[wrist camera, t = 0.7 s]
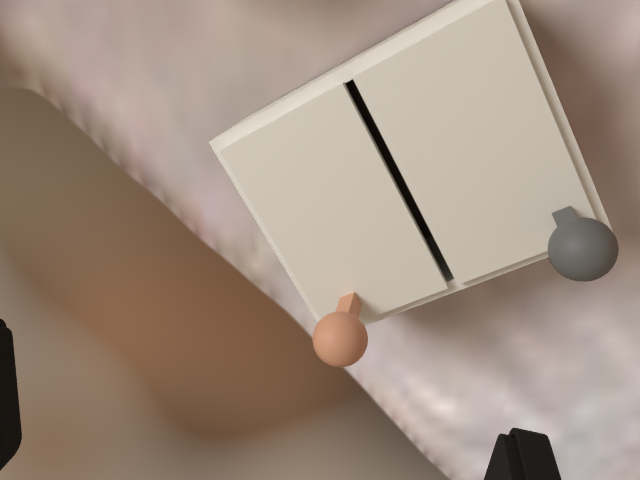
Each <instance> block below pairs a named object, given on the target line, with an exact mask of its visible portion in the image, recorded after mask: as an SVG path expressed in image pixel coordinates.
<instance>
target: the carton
mask: <svg viewBox="0 0 640 480" xmlns="http://www.w3.org/2000/svg"><path fill="white" fill-rule="evenodd" d="M490 1H492V0H454V1H452V2H450V3H448V4H447V5H445V6H443V7H441V8H439V9H438V10H436V11H434V12H432V13H431V14H429V15H427V16H425V17H423V18H422V19H420V20H418V21H416V22H415V23H413V24H411V25H409V26H407V27H406V28H404V29H402V30H400V31H399V32H397V33H395V34H393V35H391V36H390V37H388V38H386V39H384V40H383V41H381V42H379V43H377V44H375V45H374V46H372V47H370V48H368V49H367V50H365V51H363V52H361V53H360V54H358V55H356V56H354V57H352V58H351V59H349V60H347V61H345V62H344V63H342V64H340V65H338V66H336V67H335V68H333V69H331V70H329V71H328V72H326V73H324V74H322V75H320V76H319V77H317V78H315V79H313V80H312V81H310V82H308V83H306V84H304V85H303V86H301V87H299V88H297V89H296V90H294V91H292V92H290V93H288V94H287V95H285V96H283V97H281V98H280V99H278V100H276V101H274V102H273V103H271V104H269V105H267V106H265V107H264V108H262V109H260V110H258V111H257V112H255V113H253V114H252V115H250V116H248V117H247V118H245V119H244V120H242V121H241V122H239V123H238V124H236V125H234V126H233V127H231V128H230V129H228V130H227V131H225V132H224V133H222V134H221V135H219V136H217V137H216V138H214V139H213V140H211V141H210V142H209V143H210V145H211V147H212V148H213V150H214V152H215V153H216V155H217V157H218V158H219V160H220V162H221V163H222V165H223V167H224V168H225V170H226V172H227V173H228V175H229V177H230V178H231V180H232V182H233V183H234V185H235V187H236V188H237V190H238V192H239V193H240V195H241V197H242V198H243V200H244V202H245V203H246V205H247V206H248V208H249V210H250V211H251V213H252V215H253V216H254V218H255V220H256V221H257V223H258V225H259V226H260V228H261V230H262V231H263V233H264V235H265V236H266V238H267V240H268V241H269V243H270V245H271V246H272V248H273V250H274V251H275V253H276V255H277V256H278V258H279V260H280V261H281V263H282V265H283V266H284V268H285V270H286V271H287V273H288V275H289V276H290V278H291V280H292V281H293V283H294V285H295V286H296V288H297V290H298V291H299V293H300V295H301V296H302V298H303V300H304V301H305V303H306V305H307V306H308V308H309V309H310V311H311V313H312V314H313V316H314V318H315V319H316V321H317V323H318V322H319V321H320V318H319V316H318V315H317V313H316V311H315V310H314V308H313V306H312V305H311V303H310V301H309V300H308V298H307V296H306V295H305V293H304V291H303V290H302V288H301V286H300V285H299V283H298V281H297V280H296V278H295V276H294V275H293V273H292V271H291V270H290V268H289V266H288V265H287V263H286V261H285V260H284V258H283V256H282V255H281V253H280V251H279V250H278V248H277V246H276V245H275V243H274V241H273V240H272V238H271V236H270V235H269V233H268V231H267V230H266V228H265V226H264V225H263V223H262V221H261V220H260V218H259V216H258V215H257V213H256V211H255V210H254V208H253V206H252V205H251V203H250V201H249V200H248V198H247V196H246V195H245V193H244V191H243V190H242V188H241V186H240V185H239V183H238V181H237V180H236V178H235V176H234V175H233V173H232V171H231V170H230V168H229V166H228V165H227V163H226V161H225V160H224V158H223V156H222V155H221V153H220V150H221V149H223V148H224V147H226V146H228V145H230V144H232V143H234V142H235V141H237V140H239V139H241V138H243V137H244V136H246V135H248V134H250V133H252V132H254V131H255V130H257V129H259V128H261V127H263V126H264V125H266V124H268V123H270V122H272V121H274V120H275V119H277V118H279V117H281V116H283V115H284V114H286V113H288V112H290V111H292V110H294V109H295V108H297V107H299V106H301V105H303V104H305V103H306V102H308V101H310V100H312V99H314V98H315V97H317V96H319V95H321V94H323V93H325V92H326V91H328V90H330V89H332V88H334V87H335V86H337V85H339V84H341V83H343V82H344V83H345V85H346V87H347V89H348V91H349V92H350V94H351V96H352V98H353V100H354V102H355V104H356V106H357V108H358V110H359V112H360V114H361V116H362V118H363V120H364V122H365V124H366V125H367V127H368V129H369V131H370V133H371V135H372V137H373V139H374V141H375V143H376V145H377V147H378V149H379V151H380V153H381V155H382V157H383V159H384V160H385V162H386V164H387V166H388V168H389V170H390V172H391V174H392V176H393V178H394V180H395V182H396V184H397V186H398V188H399V190H400V192H401V194H402V195H403V197H404V199H405V201H406V203H407V205H408V207H409V209H410V211H411V213H412V215H413V217H414V219H415V221H416V223H417V225H418V227H419V228H420V230H421V232H422V234H423V236H424V238H425V240H426V242H427V244H428V246H429V248H430V250H431V252H432V254H433V256H434V258H435V260H436V262H437V263H438V265H439V267H440V269H441V271H442V273H443V275H444V277H445V279H446V281H447V283H448V289H445V290H443V291H440V292H438V293H435V294H432V295H430V296H427V297H424V298H422V299H419V300H416V301H414V302H411V303H408V304H406V305H403V306H400V307H398V308H395V309H393V310H390V311H387V312H385V313H382V314H379V315H377V316H374V317H371V318H369V319H366V320H363V321H361V322H362V323H363V324H364V326H366V325H368V324H371V323H374V322H376V321H379V320H382V319H384V318H387V317H390V316H392V315H395V314H398V313H401V312H403V311H406V310H409V309H411V308H414V307H417V306H419V305H422V304H425V303H427V302H430V301H433V300H435V299H438V298H441V297H443V296H446V295H449V294H451V293H454V292H457V291H459V290H462V289H465V288H467V287H470V286H473V285H475V284H478V283H481V282H483V281H486V280H489V279H492V278H494V277H497V276H500V275H502V274H505V273H508V272H510V271H513V270H516V269H518V268H521V267H524V266H526V265H529V264H532V263H534V262H537V261H540V260H542V259H545V258H548V257H549V256H548V251H546V252H543V253H541V254H538V255H535V256H533V257H530V258H528V259H525V260H522V261H520V262H517V263H514V264H512V265H509V266H506V267H504V268H501V269H498V270H496V271H493V272H490V273H488V274H485V275H483V276H480V277H477V278H475V279H472V280H469V281H467V282H464V283H461V284H459V285H458V284H457V282H456V280H455V278H454V277H453V275H452V273H451V271H450V269H449V267H448V265H447V263H446V261H445V259H444V257H443V255H442V253H441V251H440V249H439V247H438V245H437V243H436V241H435V239H434V237H433V235H432V233H431V231H430V229H429V227H428V225H427V224H426V222H425V220H424V218H423V216H422V214H421V212H420V210H419V208H418V206H417V204H416V202H415V200H414V198H413V196H412V194H411V192H410V190H409V188H408V186H407V184H406V182H405V180H404V178H403V176H402V174H401V172H400V170H399V169H398V167H397V165H396V163H395V161H394V159H393V157H392V155H391V153H390V151H389V149H388V147H387V145H386V143H385V141H384V139H383V137H382V135H381V133H380V131H379V129H378V127H377V125H376V123H375V121H374V119H373V117H372V116H371V114H370V112H369V110H368V108H367V106H366V104H365V102H364V100H363V98H362V96H361V94H360V92H359V90H358V88H357V86H356V84H355V82H354V80H353V77H354V76H355V75H357V74H359V73H361V72H363V71H365V70H366V69H368V68H370V67H372V66H374V65H375V64H377V63H379V62H381V61H383V60H385V59H386V58H388V57H390V56H392V55H394V54H396V53H397V52H399V51H401V50H403V49H405V48H406V47H408V46H410V45H412V44H414V43H416V42H417V41H419V40H421V39H423V38H425V37H426V36H428V35H430V34H432V33H434V32H436V31H437V30H439V29H441V28H443V27H445V26H446V25H448V24H450V23H452V22H454V21H456V20H457V19H459V18H461V17H463V16H465V15H466V14H468V13H470V12H472V11H474V10H476V9H477V8H479V7H481V6H483V5H485V4H486V3H488V2H490ZM505 1H506V3H507V6H508V8H509V11H510V13H511V16H512V18H513V20H514V23H515V25H516V28H517V30H518V32H519V35H520V37H521V40H522V42H523V44H524V47H525V49H526V52H527V54H528V56H529V59H530V61H531V64H532V66H533V69H534V71H535V73H536V76H537V78H538V81H539V83H540V85H541V88H542V90H543V93H544V95H545V97H546V100H547V102H548V105H549V107H550V109H551V112H552V114H553V117H554V119H555V122H556V124H557V126H558V129H559V131H560V134H561V136H562V138H563V141H564V143H565V146H566V148H567V150H568V153H569V155H570V158H571V160H572V162H573V165H574V167H575V170H576V172H577V175H578V177H579V179H580V182H581V184H582V187H583V189H584V191H585V194H586V196H587V199H588V201H589V203H590V206H591V208H592V211H593V213H594V215H595V218H596V220H598V221H600V222H602V223H604V224H605V225H607V226H608V227H609V228H610V229H611V230H612V228H611V225H610V223H609V220H608V218H607V215H606V213H605V210H604V208H603V206H602V203H601V201H600V198H599V196H598V193H597V191H596V188H595V186H594V184H593V181H592V179H591V176H590V174H589V171H588V169H587V166H586V164H585V162H584V159H583V157H582V154H581V152H580V149H579V147H578V144H577V142H576V139H575V137H574V135H573V132H572V130H571V127H570V125H569V122H568V120H567V117H566V115H565V113H564V110H563V108H562V105H561V103H560V100H559V98H558V95H557V93H556V91H555V88H554V86H553V83H552V81H551V78H550V76H549V73H548V71H547V68H546V66H545V64H544V61H543V59H542V56H541V54H540V51H539V49H538V46H537V44H536V42H535V39H534V37H533V34H532V32H531V29H530V27H529V24H528V22H527V20H526V17H525V15H524V12H523V10H522V7H521V5H520V2H519V0H505ZM612 232H613V230H612Z"/></svg>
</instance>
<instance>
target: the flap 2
mask: <svg viewBox="0 0 640 480" xmlns="http://www.w3.org/2000/svg"><path fill="white" fill-rule="evenodd" d="M353 80H354V82H355V84H356V86H357V88H358V90H359V92H360V94H361V96H362V98H363V100H364V102H365V104H366V106H367V108H368V110H369V112H370V114H371V116H372V117H373V119H374V121H375V123H376V125H377V127H378V129H379V131H380V133H381V135H382V137H383V139H384V141H385V143H386V145H387V147H388V149H389V151H390V153H391V155H392V157H393V159H394V161H395V163H396V165H397V167H398V169H399V170H400V172H401V174H402V176H403V178H404V180H405V182H406V184H407V186H408V188H409V190H410V192H411V194H412V196H413V198H414V200H415V202H416V204H417V206H418V208H419V210H420V212H421V214H422V216H423V218H424V220H425V222H426V224H427V225H428V227H429V229H430V231H431V233H432V235H433V237H434V239H435V241H436V243H437V245H438V247H439V249H440V251H441V253H442V255H443V257H444V259H445V261H446V263H447V265H448V267H449V269H450V271H451V273H452V275H453V277H454V278H455V280H456V282H457V284H458V285H459V284H461V283H464V282H467V281H469V280H472V279H475V278H477V277H480V276H483V275H485V274H488V273H490V272H493V271H496V270H498V269H501V268H504V267H506V266H509V265H512V264H514V263H517V262H520V261H522V260H525V259H528V258H530V257H533V256H535V255H538V254H541V253H543V252H546V251H548V256H549V260H550V262H551V264H552V265H553V267H554V268H555V269H556V270H557V271H558V272H559V273H560V274H561V275H563V276H564V277H566V278H569V279H571V280H575V281H592V280H595V279H598V278H600V277H602V276H604V275H605V274H606V273H608V272H609V271H610V270H611V268H612V267H613V266H614V264H615V262H616V260H617V256H618V243H617V239H616V237H615V235H614V233H613V232H612V230H611V229H610V228H609V227H608V226H607V225H605V224H604V223H602V222H600V221H598V220H596V218H595V215H594V213H593V211H592V208H591V206H590V203H589V201H588V199H587V196H586V194H585V191H584V189H583V187H582V184H581V182H580V179H579V177H578V175H577V172H576V170H575V167H574V165H573V162H572V160H571V158H570V155H569V153H568V150H567V148H566V146H565V143H564V141H563V138H562V136H561V134H560V131H559V129H558V126H557V124H556V122H555V119H554V117H553V114H552V112H551V109H550V107H549V105H548V102H547V100H546V97H545V95H544V93H543V90H542V88H541V85H540V83H539V81H538V78H537V76H536V73H535V71H534V69H533V66H532V64H531V61H530V59H529V56H528V54H527V52H526V49H525V47H524V44H523V42H522V40H521V37H520V35H519V32H518V30H517V28H516V25H515V23H514V20H513V18H512V16H511V13H510V11H509V8H508V6H507V3H506V1H505V0H492V1H490V2H488V3H486V4H485V5H483V6H481V7H479V8H477V9H476V10H474V11H472V12H470V13H468V14H466V15H465V16H463V17H461V18H459V19H457V20H456V21H454V22H452V23H450V24H448V25H446V26H445V27H443V28H441V29H439V30H437V31H436V32H434V33H432V34H430V35H428V36H426V37H425V38H423V39H421V40H419V41H417V42H416V43H414V44H412V45H410V46H408V47H406V48H405V49H403V50H401V51H399V52H397V53H396V54H394V55H392V56H390V57H388V58H386V59H385V60H383V61H381V62H379V63H377V64H375V65H374V66H372V67H370V68H368V69H366V70H365V71H363V72H361V73H359V74H357V75H355V76H354V77H353Z"/></svg>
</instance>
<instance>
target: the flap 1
mask: <svg viewBox="0 0 640 480" xmlns="http://www.w3.org/2000/svg"><path fill="white" fill-rule="evenodd" d="M220 153H221V155H222V156H223V158H224V160H225V161H226V163H227V165H228V166H229V168H230V170H231V171H232V173H233V175H234V176H235V178H236V180H237V181H238V183H239V185H240V186H241V188H242V190H243V191H244V193H245V195H246V196H247V198H248V200H249V201H250V203H251V205H252V206H253V208H254V210H255V211H256V213H257V215H258V216H259V218H260V220H261V221H262V223H263V225H264V226H265V228H266V230H267V231H268V233H269V235H270V236H271V238H272V240H273V241H274V243H275V245H276V246H277V248H278V250H279V251H280V253H281V255H282V256H283V258H284V260H285V261H286V263H287V265H288V266H289V268H290V270H291V271H292V273H293V275H294V276H295V278H296V280H297V281H298V283H299V285H300V286H301V288H302V290H303V291H304V293H305V295H306V296H307V298H308V300H309V301H310V303H311V305H312V306H313V308H314V310H315V311H316V313H317V315H318V316H319V318H320V321H319V322H318V324H317V325H316V327H315V329H314V333H313V344H314V349H315V351H316V352H317V354H318V356H319V357H320V358H321V359H322V360H323V361H324V362H326V363H327V364H329V365H332V366H335V367H346V366H350V365H352V364H354V363H355V362H357V361H358V360H359V359H360V358H361V357H362V356H363V354H364V352H365V350H366V347H367V343H368V336H367V331H366V328H365V326H364V324H363V323H362V322H361V321H363V320H366V319H369V318H371V317H374V316H377V315H379V314H382V313H385V312H387V311H390V310H393V309H395V308H398V307H400V306H403V305H406V304H408V303H411V302H414V301H416V300H419V299H422V298H424V297H427V296H430V295H432V294H435V293H438V292H440V291H443V290H445V289H448V283H447V281H446V279H445V277H444V275H443V273H442V271H441V269H440V267H439V265H438V263H437V262H436V260H435V258H434V256H433V254H432V252H431V250H430V248H429V246H428V244H427V242H426V240H425V238H424V236H423V234H422V232H421V230H420V228H419V227H418V225H417V223H416V221H415V219H414V217H413V215H412V213H411V211H410V209H409V207H408V205H407V203H406V201H405V199H404V197H403V195H402V194H401V192H400V190H399V188H398V186H397V184H396V182H395V180H394V178H393V176H392V174H391V172H390V170H389V168H388V166H387V164H386V162H385V160H384V159H383V157H382V155H381V153H380V151H379V149H378V147H377V145H376V143H375V141H374V139H373V137H372V135H371V133H370V131H369V129H368V127H367V125H366V124H365V122H364V120H363V118H362V116H361V114H360V112H359V110H358V108H357V106H356V104H355V102H354V100H353V98H352V96H351V94H350V92H349V91H348V89H347V87H346V85H345V83H344V82H343V83H341V84H339V85H337V86H335V87H334V88H332V89H330V90H328V91H326V92H325V93H323V94H321V95H319V96H317V97H315V98H314V99H312V100H310V101H308V102H306V103H305V104H303V105H301V106H299V107H297V108H295V109H294V110H292V111H290V112H288V113H286V114H284V115H283V116H281V117H279V118H277V119H275V120H274V121H272V122H270V123H268V124H266V125H264V126H263V127H261V128H259V129H257V130H255V131H254V132H252V133H250V134H248V135H246V136H244V137H243V138H241V139H239V140H237V141H235V142H234V143H232V144H230V145H228V146H226V147H224V148H223V149H221V150H220Z"/></svg>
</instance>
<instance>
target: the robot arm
mask: <svg viewBox="0 0 640 480" xmlns="http://www.w3.org/2000/svg"><path fill="white" fill-rule="evenodd" d="M21 439H22V433H21V422H20V411H19V401H18V390H17V378H16V367H15V357H14V346H13V336H12V332H11V330H10V329H9V328H7V327H6V324H5V322H4V321H3V320H2V319H0V470H1V469H2V468H3V467H4V466H5V465H6V464H7V463H8V462H9V460H10V459H11V458H12V457H13V456H14V455H15V453H16V452H17V450H18V448H19V446H20V443H21ZM484 480H561V477H560V474H559V470H558V467H557V464H556V461H555V457H554V454H553V451H552V447H551V444H550V441H549V439H548V436H547V435H545V434H541V433H537V432H532V431H527V430H523V429H518V428H512V429H511V431H510V433H509V435H506V434H500V435H499V436H498V438H497V441H496V444H495V447H494V450H493V453H492V456H491V459H490V462H489V465H488V468H487V471H486V475H485V478H484Z"/></svg>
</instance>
